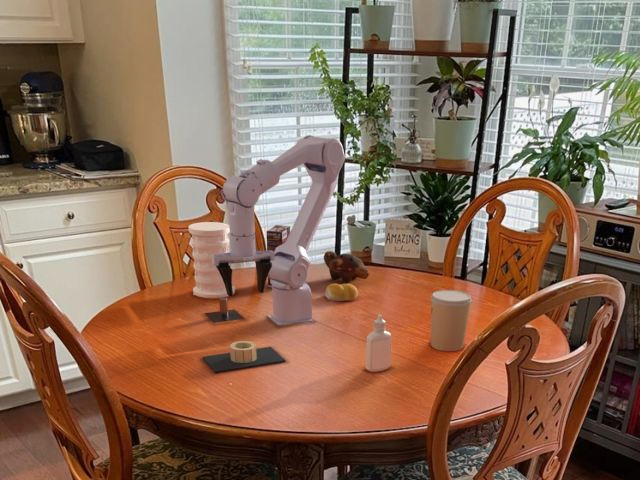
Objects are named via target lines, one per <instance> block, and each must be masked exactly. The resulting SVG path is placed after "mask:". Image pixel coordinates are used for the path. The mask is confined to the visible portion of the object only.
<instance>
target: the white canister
mask: <svg viewBox="0 0 640 480" xmlns="http://www.w3.org/2000/svg"><path fill="white" fill-rule="evenodd" d="M430 301H431V304H430V306H431V307H430V345H431V347H432V348H434V349H436V350H439V351H442V352H455V351H460V350H461V349H462V350H463V347H464V344H465V339H466V334H467V329H468V322H469V318H470V311H471V305H472V302H473V298H472V296H471V294H470V293H468V292H465V291H462V290H457V289H441V290H436V291H434V292H433V293H432V294H431V296H430Z"/></svg>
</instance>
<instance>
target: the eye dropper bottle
mask: <svg viewBox="0 0 640 480" xmlns="http://www.w3.org/2000/svg"><path fill="white" fill-rule="evenodd" d="M386 323H387V321H386V320H384V319H383V315H382V314H380V313H379V314H377V318H376V319H375V320H374V321H373V331H371V332H370V333H368V335H367V336H366V341H365V369H366V370H367V371H368V372H372V373H376V372H377V373H378V372H382V371H385V370H388V369H390V368H391V358H392V339H393V338H392V334H391V332H389V331H387V330H386Z"/></svg>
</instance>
